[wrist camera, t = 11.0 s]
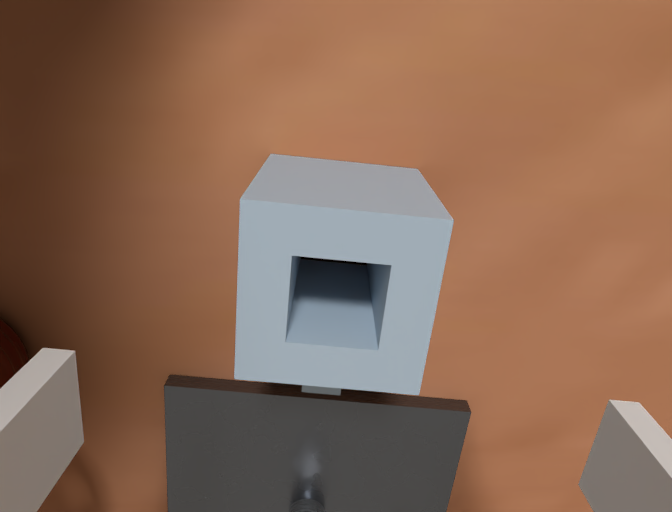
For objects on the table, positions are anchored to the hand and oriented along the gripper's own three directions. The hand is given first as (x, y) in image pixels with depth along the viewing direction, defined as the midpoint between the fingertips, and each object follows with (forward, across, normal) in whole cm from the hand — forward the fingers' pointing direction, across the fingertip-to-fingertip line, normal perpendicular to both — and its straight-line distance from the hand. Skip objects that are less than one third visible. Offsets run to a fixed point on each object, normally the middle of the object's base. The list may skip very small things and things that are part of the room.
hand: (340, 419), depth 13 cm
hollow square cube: (+14, 0, -2) cm, 14 cm away
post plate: (+14, 0, -18) cm, 22 cm away
